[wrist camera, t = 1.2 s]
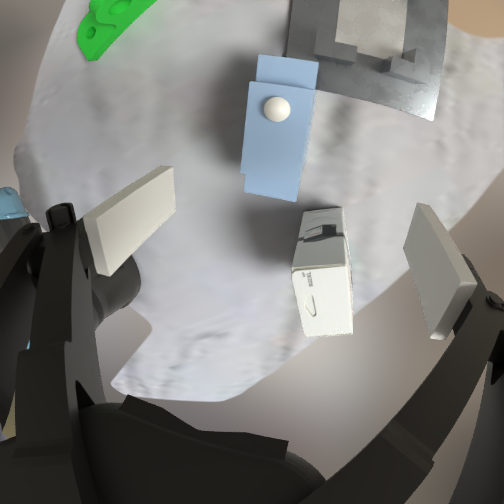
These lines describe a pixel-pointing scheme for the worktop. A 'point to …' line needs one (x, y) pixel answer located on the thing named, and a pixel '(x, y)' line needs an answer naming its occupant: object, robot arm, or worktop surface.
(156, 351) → the worktop surface
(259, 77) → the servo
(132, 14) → the mechanical part
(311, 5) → the chassis pocket
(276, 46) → the worktop surface
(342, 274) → the ink box
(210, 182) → the worktop surface
